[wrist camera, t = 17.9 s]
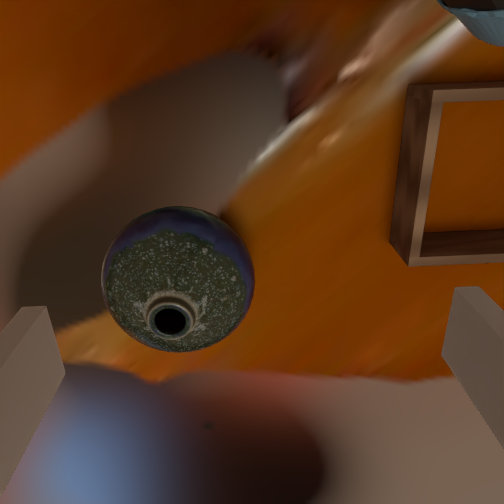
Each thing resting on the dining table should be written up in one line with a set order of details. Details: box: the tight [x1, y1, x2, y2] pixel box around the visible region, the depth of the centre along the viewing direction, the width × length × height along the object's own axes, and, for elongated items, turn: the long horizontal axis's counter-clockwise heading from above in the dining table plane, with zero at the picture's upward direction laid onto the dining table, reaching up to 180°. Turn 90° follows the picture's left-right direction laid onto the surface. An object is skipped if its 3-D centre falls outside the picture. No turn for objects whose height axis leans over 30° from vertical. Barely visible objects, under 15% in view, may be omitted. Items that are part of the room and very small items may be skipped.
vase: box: [101, 206, 255, 353], centre depth 43 cm, size 15×15×13 cm
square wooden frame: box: [389, 81, 504, 266], centre depth 43 cm, size 17×17×6 cm
